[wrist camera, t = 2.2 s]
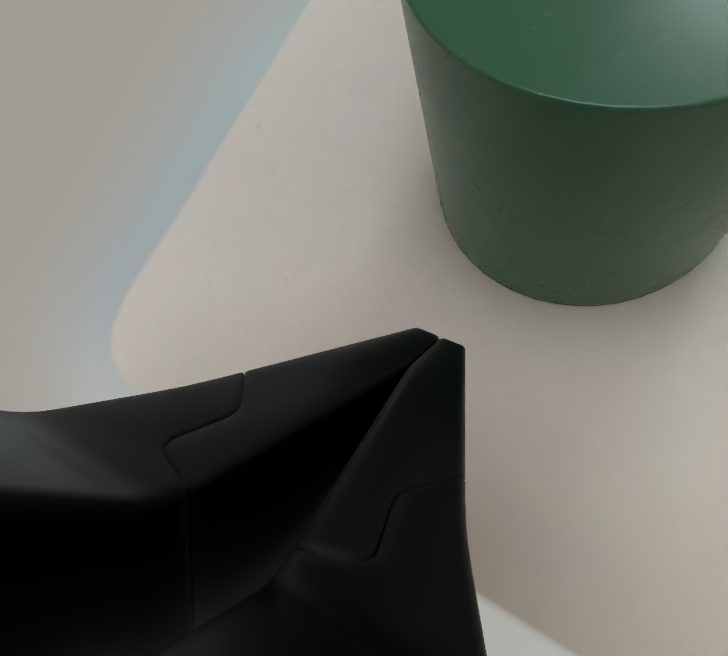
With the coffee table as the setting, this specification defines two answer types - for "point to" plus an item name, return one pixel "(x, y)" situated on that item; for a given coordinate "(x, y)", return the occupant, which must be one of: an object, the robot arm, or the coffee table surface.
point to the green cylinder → (577, 138)
